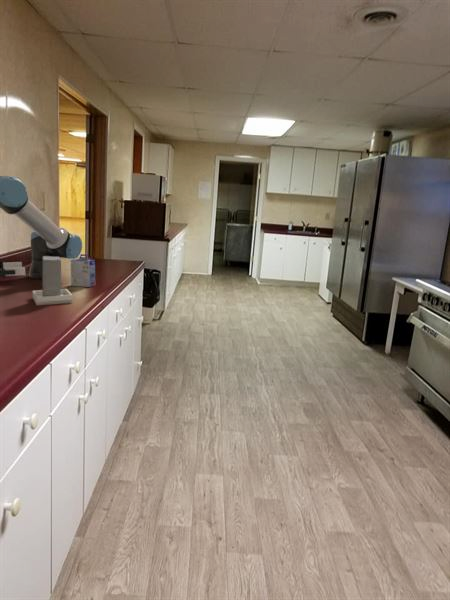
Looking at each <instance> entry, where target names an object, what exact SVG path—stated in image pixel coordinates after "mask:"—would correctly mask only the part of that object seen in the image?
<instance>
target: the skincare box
mask: <svg viewBox="0 0 450 600" xmlns="http://www.w3.org/2000/svg"><path fill="white" fill-rule="evenodd" d="M61 259H62V258H60V257H50V256H43V279H42V289H41V290H42V295H43V297H45V296H61V289H62V260H61Z"/></svg>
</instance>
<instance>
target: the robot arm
mask: <svg viewBox="0 0 450 600" xmlns="http://www.w3.org/2000/svg"><path fill="white" fill-rule="evenodd" d="M29 199H30V197H29V193H28V190H27V187H26V185H25V184H24V182H23V181H22V180H20V179H19V178H16V177H15V176H14V177H13V176H8V175H0V209H1V210H2V211H4V212H5V213H6V214H8V215H14V216H16V217H17V218H18V219H19V220H20V221H21V222H23V223H24V224H25V225H26V226H27V227H29V228H30V229H31V230H32V231H33V232H31V233H30V250H31V263H30V267H29V272H28V277H29V278H31V279H38V280H39V279H41V280H43V256H50V257H60V258H61V259H62V258H63V259H68V260H73V259H78V258H79V257H80V255H81V254H82V250H83V241H82V238H81V236H79V235H77V234H72V233H70V232H69V231H68V230H67V229H66V228H64V227H59V226H58V225H56V223H54V221H52V220H51V219H50V218H49V217H48V216H47V215H46V214H45V213H43V211H41V210H40V209H39V208H38V207H37V206H36V205H35V204H34V203H32V201H30V200H29ZM12 276H13V277H14V276H16V277H17V276H26V267H24V266H23V263H22V261H16V262H15V261H13V262H3V260H0V278H2V279H6V278H7V277H12Z"/></svg>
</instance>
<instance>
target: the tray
mask: <svg viewBox="0 0 450 600" xmlns="http://www.w3.org/2000/svg"><path fill="white" fill-rule="evenodd" d="M42 290H43V289H39V290H37V289H36V290H32V299H33V301H34V302H35V306H43V305H44V306H45V305H47V306H48V305H57V304H59V305H60V304H73V303H74V295H73V293H71V291H70V290H69V289H68V288H61V296H45V297H43V295H42Z"/></svg>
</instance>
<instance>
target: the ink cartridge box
mask: <svg viewBox="0 0 450 600" xmlns="http://www.w3.org/2000/svg"><path fill="white" fill-rule="evenodd" d="M88 256H89V254H83V253H80V255H79V257H78V258H75V259H69V260H70V261H69V262H70V286H71V287H72V286H74V287H83V288H85V287H87V288H92V287H96V261H95V259H88Z"/></svg>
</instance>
